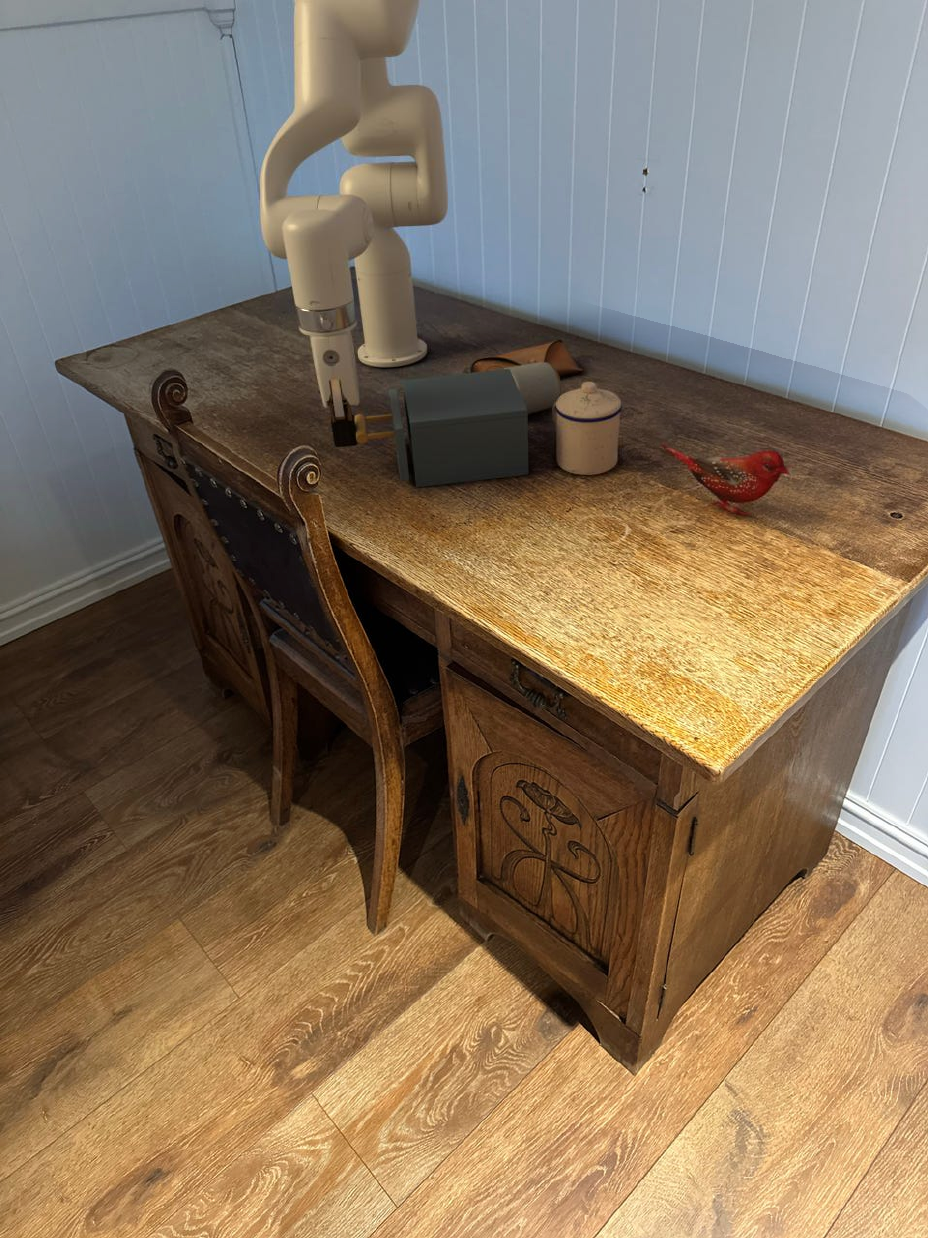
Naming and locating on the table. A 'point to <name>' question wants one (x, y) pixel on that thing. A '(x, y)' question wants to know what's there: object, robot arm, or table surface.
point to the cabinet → (466, 427)
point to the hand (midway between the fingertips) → (346, 443)
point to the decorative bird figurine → (735, 475)
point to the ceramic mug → (537, 385)
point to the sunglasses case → (531, 359)
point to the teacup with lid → (587, 430)
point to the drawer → (397, 432)
